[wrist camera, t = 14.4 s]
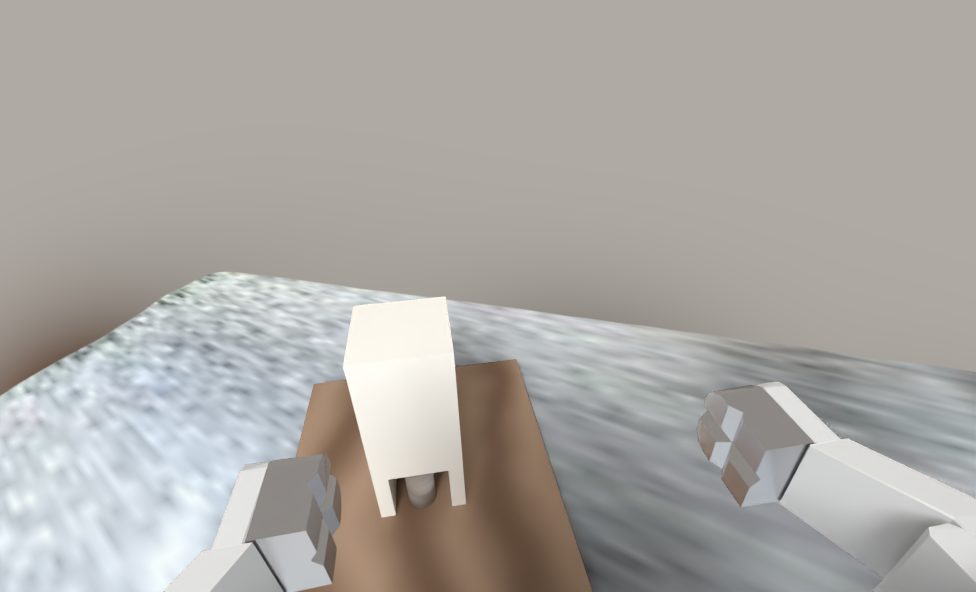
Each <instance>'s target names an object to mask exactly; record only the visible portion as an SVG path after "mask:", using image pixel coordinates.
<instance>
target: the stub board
mask: <svg viewBox="0 0 976 592" xmlns="http://www.w3.org/2000/svg"><path fill="white" fill-rule="evenodd" d="M455 373H456V385H457V398H458V410H459V423H460V435H461V447H462V460H463V472H464V485H465V497H466V504H463V505H457V506H452V499H451V490H450V481H449V472H448V471H443V472H436V473H430V474H423V475H417V476H410V477H403V478H397V482H396V515H395V516H388V517H381V513H380V509H379V505H378V502H377V498H376V494H375V490H374V486H373V482H372V478H371V474H370V470H369V466H368V462H367V458H366V455H365V451H364V447H363V443H362V439H361V435H360V431H359V427H358V423H357V419H356V415H355V412H354V408H353V404H352V400H351V396H350V392H349V388H348V384H347V380H343V381H335V382H326V383H318V384H314V386H313V390H312V394H311V398H310V402H309V406H308V410H307V414H306V418H305V422H304V426H303V430H302V434H301V438H300V443H299V447H298V451H297V455H296V457H304V456H311V455H319V454H327V456H328V458H329V460H330V462H331V469H330V475H332V476H334V477H336V478H337V480H338V483H339V486H340V492H341V505H342V512H341V521H340V526H339V528H338V529H337V530H336V532H335V533H334V534H333V535H332V537H333V540H334V542H335V544H336V547H337V553H336V560H335V567H334V575H333V582H332V584H329V585H324V586H320V587H315V588H310V589H306V590H301V591H296V592H593V591H592V588H591V585H590V582H589V579H588V576H587V573H586V570H585V567H584V564H583V561H582V558H581V555H580V552H579V549H578V546H577V543H576V540H575V537H574V534H573V531H572V528H571V525H570V522H569V519H568V515H567V512H566V509H565V506H564V503H563V500H562V497H561V494H560V491H559V488H558V485H557V482H556V479H555V476H554V473H553V470H552V467H551V464H550V461H549V458H548V455H547V452H546V449H545V446H544V443H543V439H542V436H541V433H540V430H539V427H538V424H537V421H536V418H535V415H534V412H533V409H532V406H531V403H530V400H529V397H528V394H527V391H526V388H525V385H524V382H523V379H522V376H521V373H520V370H519V367H518V363H517V360H516V359H515V360H506V361H498V362H490V363H482V364H474V365H466V366H457V367H455Z"/></svg>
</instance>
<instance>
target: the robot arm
mask: <svg viewBox="0 0 976 592" xmlns="http://www.w3.org/2000/svg"><path fill="white" fill-rule="evenodd" d="M704 405H705V407H706V408H707V410H708V411H707V412H706V413H705V414H704V415H703V416H702V417H701V418H700V419H699V423H698V427H697V433H698V440H699V443H700V445H701V448H702V450H703V452H704V454H705V455H706V457H707V458H708V460H709V461H710V462H712V463H713V464H715V465H717V466H718V467H720V468H721V469H722V481H723V482H724V483H725V485H726V486H727V488H728V489H729V491H730V492H731V494H732V495H733V497H734V498H735V500H736V501H737V502H738V504H739V505H740V507H747V506H753V505H760V504H766V503H772V502H779V501H780V503H779V504H780V505H782V506H783V507H785V508H786V509H787V510H789V511H790V512H792V513H793V514H794V515H796V516H797V517H798V518H800V519H801V520H803V521H804V522H805V523H807V524H808V525H810V526H811V527H812V528H814V529H815V530H816V531H818V532H819V533H821V534H822V535H823V536H825V537H826V538H828V539H829V540H830V541H832V542H833V543H835V544H836V545H837V546H839V547H840V548H841V549H843V550H844V551H846V552H847V553H848V554H850V555H851V556H853V557H854V558H855V559H857V560H858V561H859V562H861V563H862V564H864V565H865V566H866V567H868V568H869V569H871V570H872V571H873V572H875V573H876V574H878V575H879V576H880V577H882V578H883V580H882V581H881V582H880V583H879V584H878V586H877V587H876V588H875V589H874V590H873V591H872V592H976V499H975V498H973V497H971V496H969V495H967V494H965V493H963V492H961V491H958V490H956V489H954V488H952V487H950V486H948V485H946V484H944V483H941V482H939V481H937V480H935V479H933V478H931V477H929V476H927V475H924V474H922V473H920V472H918V471H916V470H914V469H912V468H910V467H907V466H905V465H903V464H901V463H899V462H897V461H895V460H892V459H890V458H888V457H886V456H884V455H882V454H880V453H878V452H875V451H873V450H871V449H869V448H867V447H865V446H863V445H861V444H858V443H856V442H854V441H852V440H850V439H848V438H845V439H840V438H839V437H838V436H837V435H836V434H835V433H834V432H833V431H831V430H830V429H829V428H828V427H827V426H826V425H825V424H824V423H823V422H822V421H821V420H820V419H819V418H818V417H817V416H816V415H815V414H814V413H813V412H812V411H811V410H810V409H809V408H808V407H807V406H806V405H805V404H804V403H803V402H802V401H801V400H800V399H799V398H798V397H797V396H796V395H795V394H794V393H793V392H792V391H791V390H790V389H789V388H788V387H786V386H785V385H784V384H782V383H780V382H778V381H776V382H769V383H763V384H757V385H748V386H742V387H736V388H731V389H725V390H719V391H713V392H710V393H709V394H708V395H707V396H706V399H705V402H704ZM330 469H331V462H330V460H329V458H328V456H327V454H319V455H311V456H304V457H296V458H288V459H281V460H273V461H267V462H260V463H253V464H246V465H245V466H244V467H243V469H242V470H241V471H240V473H239V475H238V477H237V480H236V483H235V486H234V488H233V491H232V494H231V497H230V499H229V502H228V505H227V507H226V510H225V513H224V516H223V518H222V521H221V524H220V527H219V529H218V532H217V535H216V538H215V540H214V543H213V546H212V548H211V549H208V550H204V551H202V552H201V553H200V554H199V555H198V556H197V557H196V558H195V559H194V560H193V561H192V562H191V563H190V564H189V565H188V567H187V568H186V569H185V570H184V571H183V572H182V573H181V574H180V575H179V576H178V577H177V578H176V579H175V580H174V581H173V582H172V583H171V584H170V585H169V586H168V587H167V588H166V589H165V591H164V592H296V591H301V590H306V589H310V588H315V587H320V586H324V585H329V584H332V582H333V575H334V567H335V560H336V553H337V547H336V544H335V542H334V540H333V537H332V535H333V534H334V533H335V532H336V530H337V529H338V528H339V526H340V521H341V512H342V505H341V492H340V486H339V483H338V480H337V478H336V477H334V476H332V475H330Z"/></svg>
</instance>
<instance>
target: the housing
mask: <svg viewBox="0 0 976 592" xmlns="http://www.w3.org/2000/svg"><path fill="white" fill-rule="evenodd" d="M343 368H344V372H345V376H346V380H347V384H348V388H349V392H350V396H351V400H352V404H353V408H354V412H355V415H356V419H357V423H358V427H359V431H360V435H361V439H362V443H363V447H364V451H365V455H366V458H367V462H368V466H369V470H370V474H371V478H372V482H373V486H374V490H375V494H376V498H377V502H378V505H379V509H380V513H381V517H388V516H395V515H396V482H397V478H403V477H410V476H417V475H423V474H430V473H436V472H443V471H448V472H449V481H450V490H451V499H452V506H457V505H463V504H466V497H465V485H464V472H463V460H462V447H461V435H460V423H459V410H458V398H457V385H456V373H455V361H454V350H453V344H452V337H451V330H450V324H449V317H448V310H447V304H446V297H437V298H436V297H435V298H426V299H416V300H406V301H396V302H387V303H377V304H367V305H358V306H353V311H352V317H351V323H350V328H349V334H348V340H347V346H346V351H345V357H344V363H343Z"/></svg>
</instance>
